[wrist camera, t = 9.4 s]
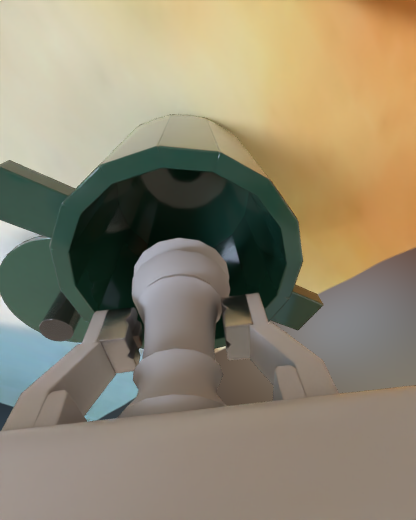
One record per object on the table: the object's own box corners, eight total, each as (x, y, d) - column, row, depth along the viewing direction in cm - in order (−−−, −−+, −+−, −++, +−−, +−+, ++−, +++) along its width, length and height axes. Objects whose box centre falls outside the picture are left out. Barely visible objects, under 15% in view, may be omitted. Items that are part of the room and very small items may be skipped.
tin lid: (120, 346, 31) (109, 389, 27) (-4, 312, 27) (-39, 356, 23) (165, 264, 25) (160, 302, 21) (16, 206, 22) (-27, 238, 17)
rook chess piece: (185, 320, 15) (182, 513, 8) (115, 276, 13) (40, 480, 7) (247, 270, 13) (303, 462, 7) (177, 212, 12) (161, 398, 5)
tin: (236, 284, 27) (258, 382, 19) (56, 211, 22) (-31, 300, 13) (312, 180, 22) (395, 250, 13) (98, 52, 17) (-1, 27, 8)
